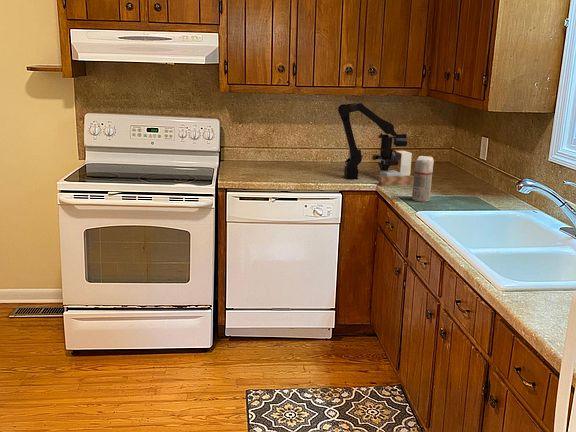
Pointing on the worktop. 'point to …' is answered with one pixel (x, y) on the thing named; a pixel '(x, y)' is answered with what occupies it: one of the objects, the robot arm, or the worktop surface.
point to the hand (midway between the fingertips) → (384, 176)
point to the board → (396, 180)
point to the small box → (404, 163)
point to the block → (389, 173)
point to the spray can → (422, 178)
